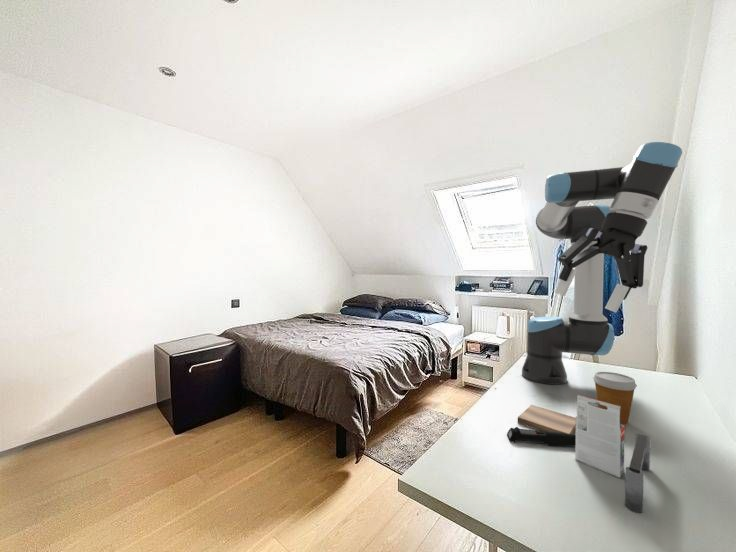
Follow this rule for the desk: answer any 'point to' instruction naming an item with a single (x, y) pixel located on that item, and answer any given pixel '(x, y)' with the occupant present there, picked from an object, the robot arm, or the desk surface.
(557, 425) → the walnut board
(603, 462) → the ink box
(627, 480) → the dark grey cabinet handle
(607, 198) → the robot arm
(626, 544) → the desk surface
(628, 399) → the disposable coffee cup
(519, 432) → the electric trimmer
